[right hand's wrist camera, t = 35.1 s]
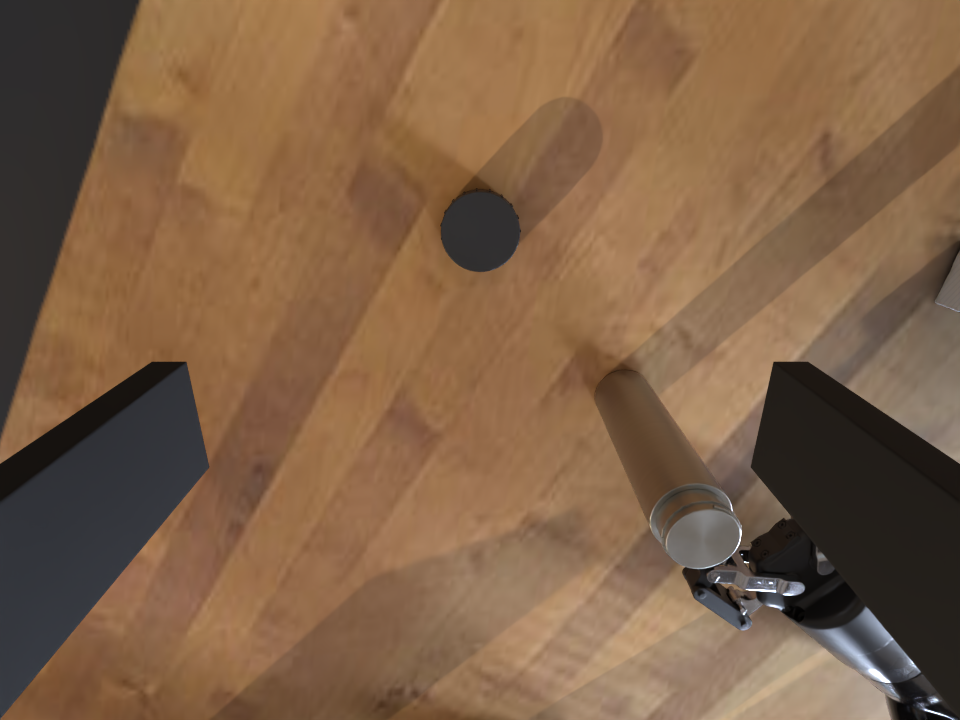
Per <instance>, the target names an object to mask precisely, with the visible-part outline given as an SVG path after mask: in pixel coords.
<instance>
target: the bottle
mask: <svg viewBox="0 0 960 720" xmlns="http://www.w3.org/2000/svg"><path fill="white" fill-rule="evenodd" d="M595 403H596V406H597V408H598V410H599V413H600V415H601V417H602V419H603V422H604V424H605V426H606V429H607V431H608V433H609V435H610V438H611V440H612V442H613V444H614V447H615V449H616V451H617V454H618V456H619V458H620V460H621V463H622V465H623V467H624V469H625V472H626V474H627V476H628V478H629V481H630V483H631V485H632V488H633V490H634V492H635V494H636V497H637V499H638V501H639V503H640V506H641V508H642V510H643V513H644V515H645V517H646V519H647V522H648V524H649V526H650V528H651V531H652V533H653V535H654V536H655V538H656V539H657V540H658V541H659V542H661V544H662V546H663V548H664V550H665V552H666V554H668V555H669V556H670V557H671V558H672V559H673V560H674V561H675V562H677V563H678V564H680V565H682V566H684V567H688V568H694V569H702V568H708V567H712V566H715V565H717V564H720V563H722V562H723V561H725V560H726V559H728V558H729V557H730V556H731V555H732V554H733V553H734V552H735V550H736V549H737V547H738V545H739V542H740V538H741V534H742V531H741V524H740V522H739V520H738V518H737V517H736V516H735V514H734V512H733V511H732V505H731V502H730V500H729V498H728V497H727V495H726V494H725V492H724V491H723V489H722V488H721V487H720V485H719V484H718V482H717V481H716V479H715V478H714V477H713V475H712V474H711V472H710V471H709V469H708V468H707V466H706V465H705V464H704V462H703V461H702V459H701V458H700V456H699V455H698V454H697V452H696V451H695V449H694V448H693V446H692V445H691V443H690V442H689V441H688V439H687V438H686V436H685V435H684V433H683V432H682V431H681V429H680V428H679V426H678V425H677V423H676V422H675V421H674V419H673V418H672V416H671V415H670V413H669V412H668V410H667V409H666V408H665V406H664V405H663V403H662V402H661V400H660V399H659V398H658V396H657V395H656V393H655V392H654V390H653V389H652V387H651V386H650V385H649V383H648V382H647V380H646V379H645V378H644V377H643V376H642V375H641V374H639V373H637V372H635V371H631V370H619V371H615V372H613V373H611V374H609V375H607V376H606V377H605V378H603V379H602V380H601V382H600V383H599V385H598V386H597V388H596V391H595Z"/></svg>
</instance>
